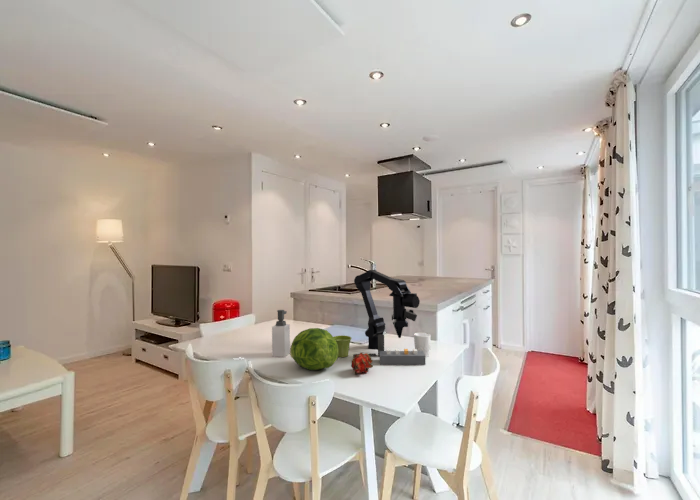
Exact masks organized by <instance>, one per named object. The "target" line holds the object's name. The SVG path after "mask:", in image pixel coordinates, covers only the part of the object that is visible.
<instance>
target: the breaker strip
mask: <svg viewBox="0 0 700 500" xmlns="http://www.w3.org/2000/svg"><path fill="white" fill-rule="evenodd" d="M379 352H380V357H379V365H383V366H385V365H386V366H387V365H388V366H392V365H393V366H404V365H405V366H426V357H425V354H424V352H423V351H417V349H415V348H413V349H412V350H409V349H408V348H404V349H403V350H400V349H399V348H395V350H391V349H390V348H386V350H384V351H379Z"/></svg>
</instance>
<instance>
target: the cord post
mask: <svg viewBox="0 0 700 500" xmlns="http://www.w3.org/2000/svg"><path fill="white" fill-rule="evenodd" d="M377 351H378V352H377V355H378V357H379V358H380V352H379V351H385V334H384V333H383V334H379V335H378V349H377Z"/></svg>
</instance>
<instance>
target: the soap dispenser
mask: <svg viewBox="0 0 700 500" xmlns="http://www.w3.org/2000/svg"><path fill="white" fill-rule="evenodd" d="M276 312H277V321H276V323H275V324H274V325H273V326H271V344H272V345H271V347H272V349H271V350H272V351H271V353H272V355H271V357H272V358H274V357H275V358H286V357H287V356H288V355H290V354H289V353H290V347H291V335H290V333H291V332H290V331H291V330H290V329H291V325H290V324H288V323H287V322H286V320H285V315H286V314H287V310H285V309H277V310H276Z"/></svg>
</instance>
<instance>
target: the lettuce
mask: <svg viewBox="0 0 700 500" xmlns="http://www.w3.org/2000/svg"><path fill="white" fill-rule="evenodd" d="M334 337H335V336H333V335H332V334H331V333H330V331H328V330H326V329H323V328H319V327H312V328H311V327H310V328H308V329H307V328H306V329H304V330H302V331H300V332H299V333H298V334H296V336H294V338H293V340H292V343H291V344H290V354H289V355H290V357H291V359H293V361H294V362H295V363H296V364H297V365H299V367H301V368H305V369H306V370H309V371H319V370H322V369H329V368H330V367H332V366H333V365H334V364H335V362H336V361H337V359H338V358H339V357H338V345H337V342H336V340H335V339H334Z"/></svg>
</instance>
